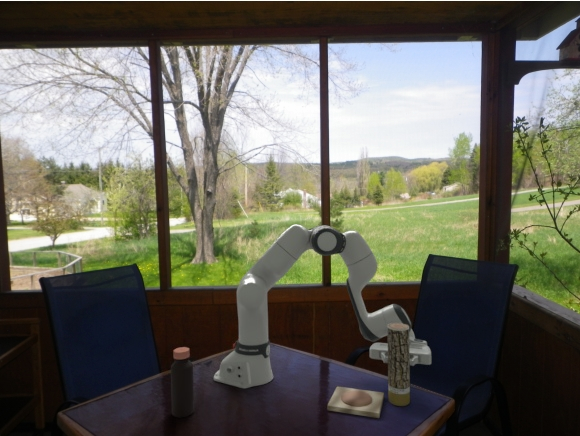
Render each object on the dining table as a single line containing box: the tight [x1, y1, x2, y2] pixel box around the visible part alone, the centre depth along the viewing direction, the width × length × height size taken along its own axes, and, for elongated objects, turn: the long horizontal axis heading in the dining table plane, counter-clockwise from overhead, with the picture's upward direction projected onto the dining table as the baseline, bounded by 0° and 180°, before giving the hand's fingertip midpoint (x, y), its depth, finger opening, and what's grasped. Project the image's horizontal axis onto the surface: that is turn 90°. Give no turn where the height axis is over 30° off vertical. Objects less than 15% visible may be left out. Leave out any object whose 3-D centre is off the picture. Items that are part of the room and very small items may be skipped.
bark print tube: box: [387, 323, 411, 407], centre depth 130 cm, size 7×7×25 cm
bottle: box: [170, 346, 195, 419], centre depth 125 cm, size 7×7×20 cm
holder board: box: [326, 386, 385, 419], centre depth 129 cm, size 16×14×2 cm
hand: (398, 362), depth 129 cm, fingers closed on bark print tube, 7 cm apart
